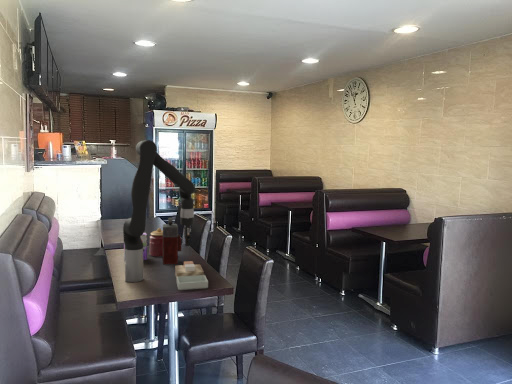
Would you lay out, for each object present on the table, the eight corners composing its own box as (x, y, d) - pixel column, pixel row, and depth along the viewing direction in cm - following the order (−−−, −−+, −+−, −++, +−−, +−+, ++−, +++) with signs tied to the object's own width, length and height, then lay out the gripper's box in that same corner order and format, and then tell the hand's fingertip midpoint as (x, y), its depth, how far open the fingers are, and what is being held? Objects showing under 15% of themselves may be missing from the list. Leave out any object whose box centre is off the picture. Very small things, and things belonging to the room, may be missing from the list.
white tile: (185, 271, 217) (185, 267, 216) (184, 268, 222) (184, 264, 221) (194, 271, 218) (194, 266, 218) (193, 268, 223) (193, 263, 223)
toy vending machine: (181, 263, 248) (181, 218, 245) (163, 264, 246) (163, 219, 243) (180, 259, 257) (180, 216, 254) (162, 260, 254) (162, 216, 251)
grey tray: (178, 290, 203) (178, 283, 202) (176, 283, 213) (176, 276, 213) (207, 288, 207) (208, 281, 206) (204, 281, 217) (204, 274, 217)
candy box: (124, 261, 250) (124, 235, 248) (123, 259, 255) (123, 233, 253) (147, 259, 255) (147, 234, 253) (146, 257, 260) (146, 232, 258)
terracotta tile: (184, 268, 222) (184, 264, 222) (183, 265, 227) (183, 261, 226) (193, 268, 223) (193, 263, 223) (192, 265, 228) (192, 261, 228)
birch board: (177, 282, 214) (177, 273, 214) (175, 274, 228) (175, 265, 227) (203, 280, 218) (203, 271, 217) (200, 272, 231) (200, 264, 231)
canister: (149, 257, 261) (149, 230, 259) (149, 252, 273) (149, 226, 271) (169, 256, 264) (169, 229, 262) (168, 251, 277) (168, 226, 275)
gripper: (179, 214, 235) (179, 243, 237) (181, 218, 222) (181, 249, 224) (192, 214, 237) (192, 242, 239) (195, 218, 224) (195, 248, 226)
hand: (187, 245), depth 232 cm, fingers closed
